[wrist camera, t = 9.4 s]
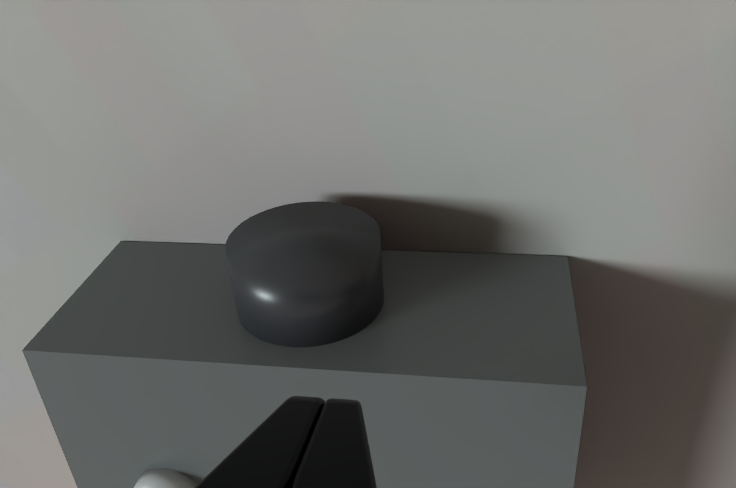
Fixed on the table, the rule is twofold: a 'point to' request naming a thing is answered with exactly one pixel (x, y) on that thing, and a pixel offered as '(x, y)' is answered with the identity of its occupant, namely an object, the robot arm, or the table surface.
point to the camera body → (316, 355)
